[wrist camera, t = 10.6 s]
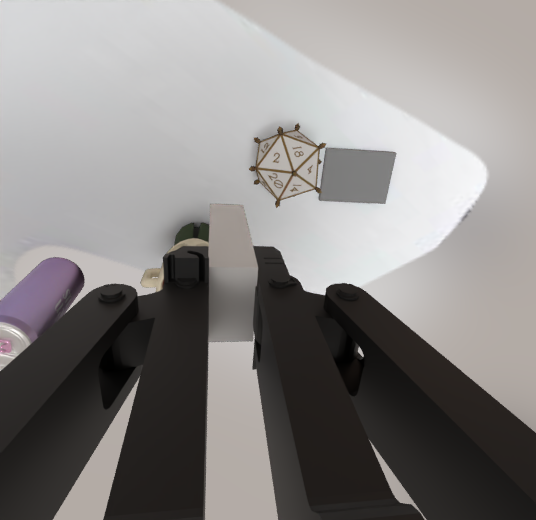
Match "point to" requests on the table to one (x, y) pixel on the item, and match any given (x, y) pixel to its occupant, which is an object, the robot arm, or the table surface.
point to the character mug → (183, 238)
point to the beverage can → (37, 305)
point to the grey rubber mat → (356, 175)
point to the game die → (287, 164)
